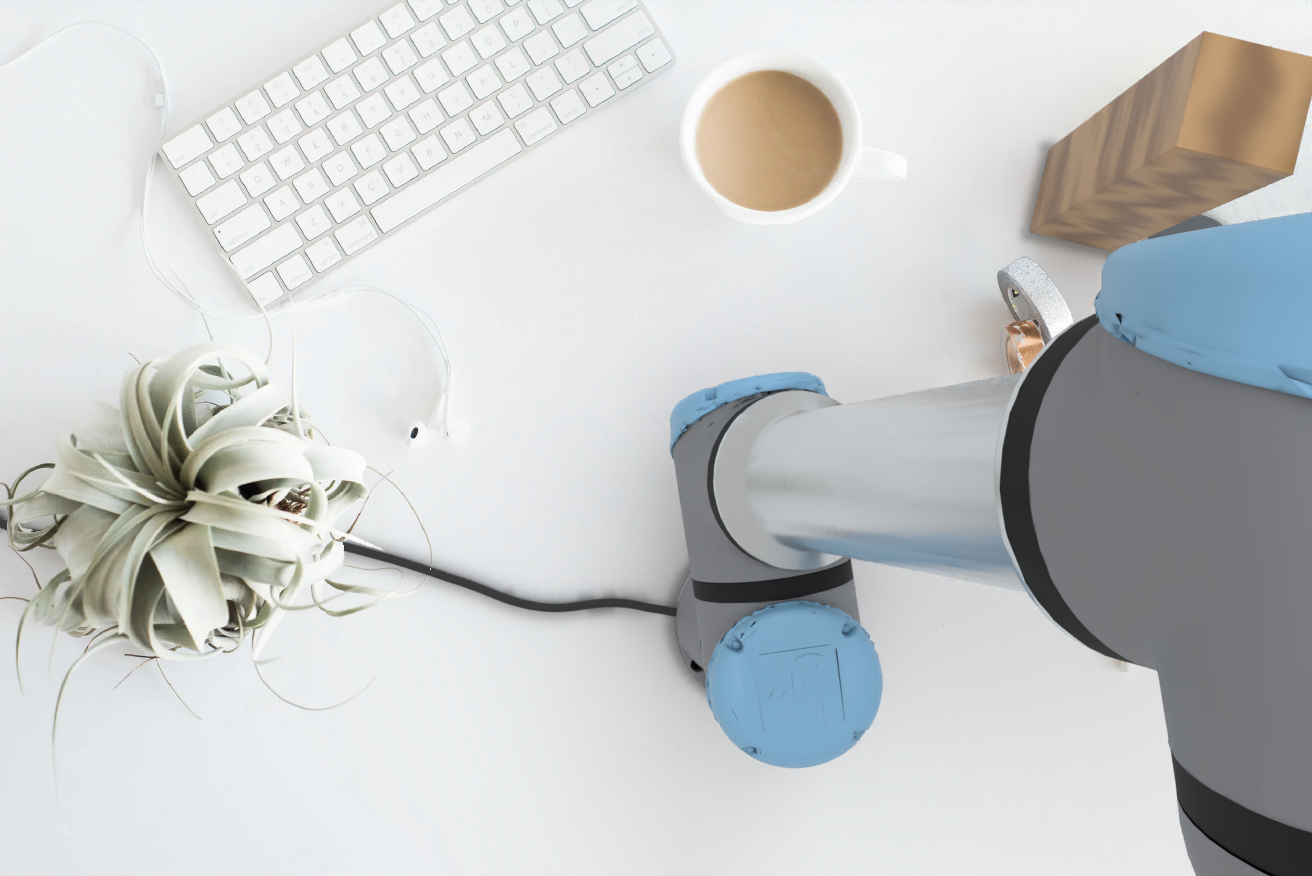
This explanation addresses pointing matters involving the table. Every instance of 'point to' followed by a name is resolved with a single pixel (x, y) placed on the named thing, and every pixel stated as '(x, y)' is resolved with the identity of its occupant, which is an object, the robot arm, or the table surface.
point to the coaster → (1189, 226)
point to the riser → (1177, 143)
